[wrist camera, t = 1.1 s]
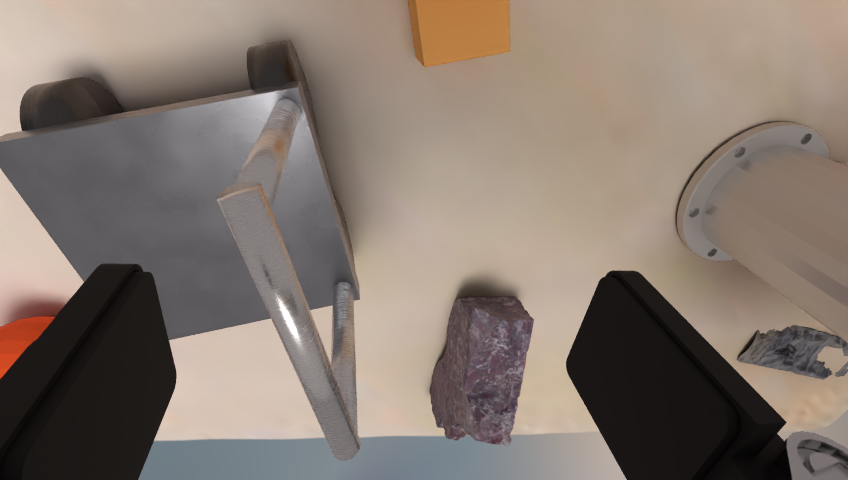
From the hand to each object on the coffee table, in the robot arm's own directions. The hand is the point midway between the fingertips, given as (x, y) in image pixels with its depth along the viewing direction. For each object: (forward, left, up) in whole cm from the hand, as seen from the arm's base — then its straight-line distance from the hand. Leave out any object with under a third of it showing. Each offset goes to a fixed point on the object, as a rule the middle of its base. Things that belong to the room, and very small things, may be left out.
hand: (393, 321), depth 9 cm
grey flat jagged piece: (-45, +39, -22) cm, 64 cm away
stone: (-5, +24, -22) cm, 33 cm away
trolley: (+10, +4, -22) cm, 24 cm away
